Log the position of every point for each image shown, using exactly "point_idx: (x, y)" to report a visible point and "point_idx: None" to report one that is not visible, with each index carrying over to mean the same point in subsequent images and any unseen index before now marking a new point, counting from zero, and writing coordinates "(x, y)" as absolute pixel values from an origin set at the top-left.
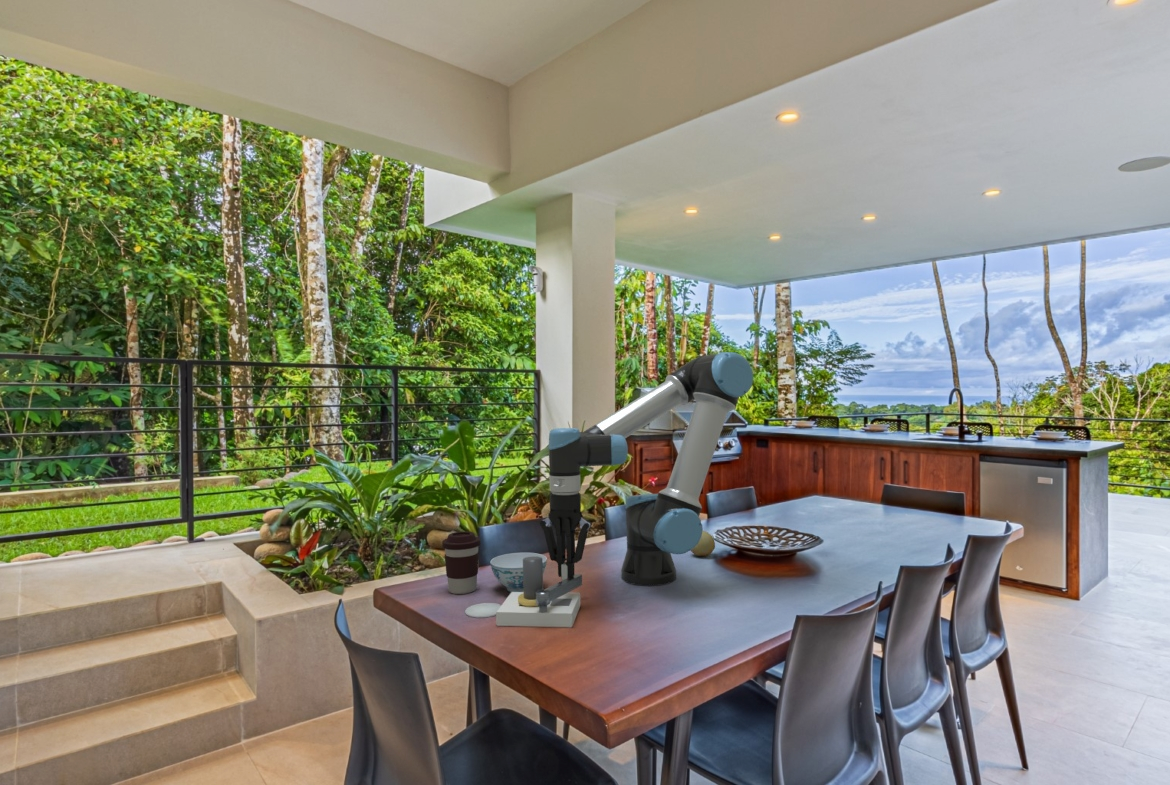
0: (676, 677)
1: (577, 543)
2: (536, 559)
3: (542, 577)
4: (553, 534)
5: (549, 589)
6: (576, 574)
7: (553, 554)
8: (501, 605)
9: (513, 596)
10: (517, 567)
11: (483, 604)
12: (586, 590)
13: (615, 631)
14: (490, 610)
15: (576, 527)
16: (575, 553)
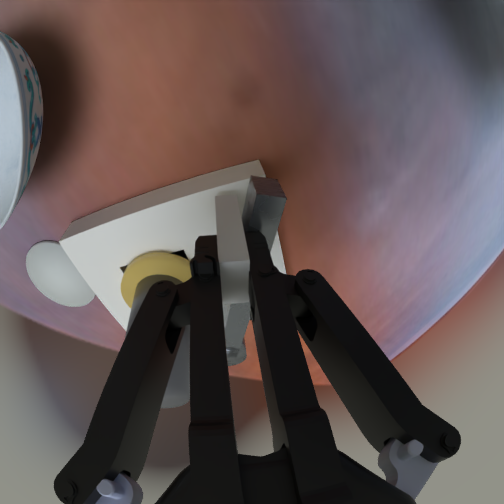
0: (419, 334)
1: (335, 387)
2: (169, 395)
3: (187, 337)
4: (132, 412)
5: (235, 343)
6: (260, 201)
7: (178, 342)
8: (115, 317)
9: (89, 268)
10: (1, 226)
11: (35, 257)
12: (221, 15)
13: (370, 274)
14: (73, 279)
15: (352, 461)
16: (308, 342)
